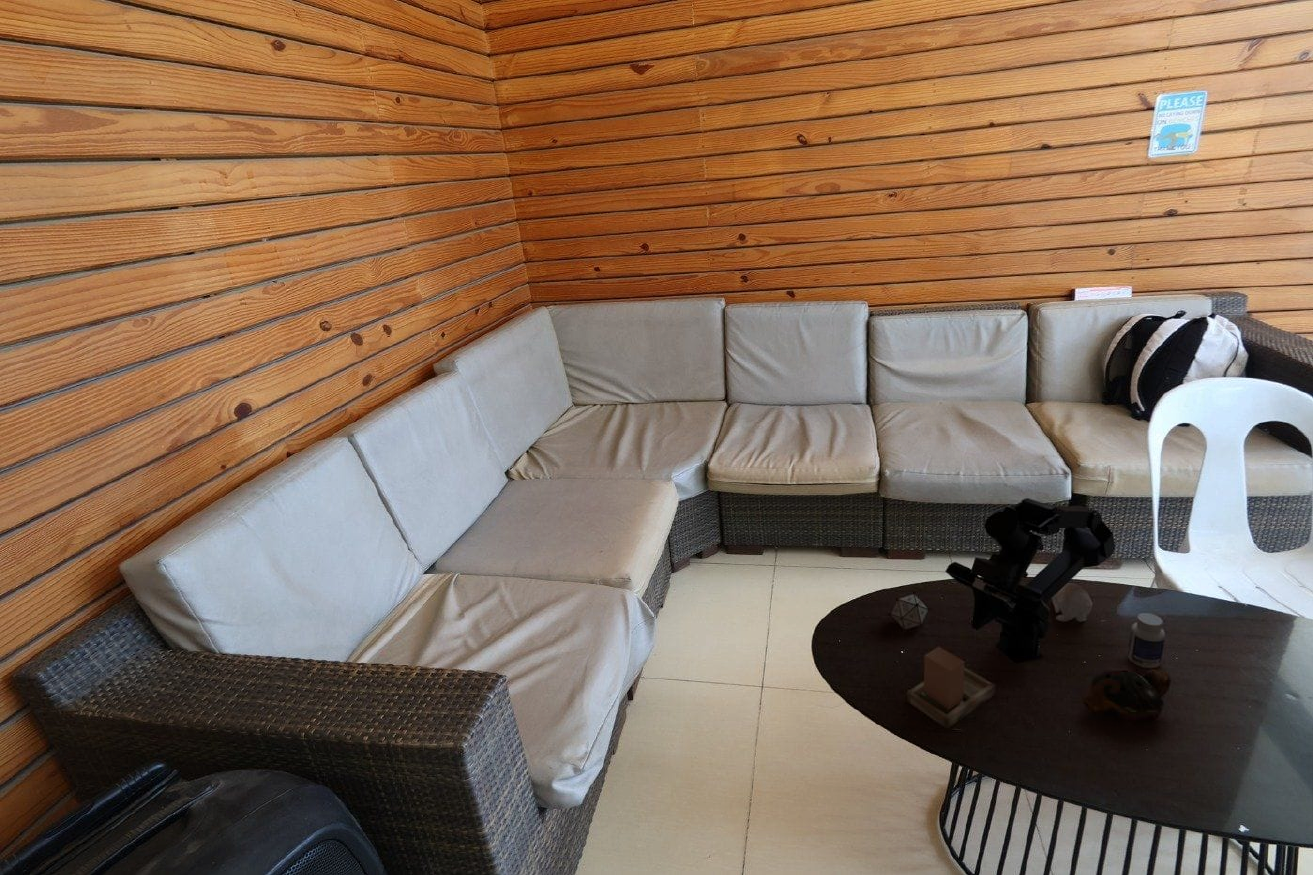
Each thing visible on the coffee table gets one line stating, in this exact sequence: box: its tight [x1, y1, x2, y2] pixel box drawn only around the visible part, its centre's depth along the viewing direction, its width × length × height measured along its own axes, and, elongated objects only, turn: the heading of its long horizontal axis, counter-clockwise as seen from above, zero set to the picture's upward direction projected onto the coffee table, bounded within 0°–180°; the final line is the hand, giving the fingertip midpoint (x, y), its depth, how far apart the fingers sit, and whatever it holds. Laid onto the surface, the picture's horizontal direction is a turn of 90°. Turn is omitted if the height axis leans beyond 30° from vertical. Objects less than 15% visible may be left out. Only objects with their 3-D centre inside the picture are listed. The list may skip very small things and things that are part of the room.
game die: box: [886, 590, 933, 634], centre depth 150 cm, size 9×8×10 cm
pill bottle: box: [1127, 612, 1166, 669], centre depth 132 cm, size 5×5×10 cm
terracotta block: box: [923, 646, 966, 710], centre depth 127 cm, size 4×6×9 cm
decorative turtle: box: [1081, 668, 1172, 725], centre depth 121 cm, size 10×15×8 cm, turn 100°
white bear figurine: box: [1051, 582, 1093, 623], centre depth 149 cm, size 6×8×12 cm
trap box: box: [906, 666, 996, 729], centre depth 130 cm, size 14×9×2 cm, turn 121°
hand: (974, 628), depth 129 cm, fingers closed
